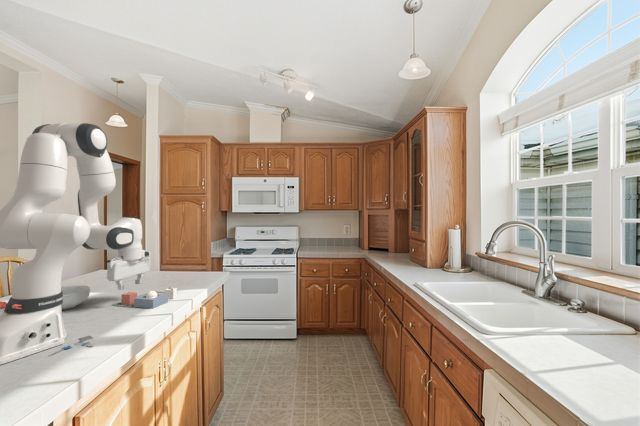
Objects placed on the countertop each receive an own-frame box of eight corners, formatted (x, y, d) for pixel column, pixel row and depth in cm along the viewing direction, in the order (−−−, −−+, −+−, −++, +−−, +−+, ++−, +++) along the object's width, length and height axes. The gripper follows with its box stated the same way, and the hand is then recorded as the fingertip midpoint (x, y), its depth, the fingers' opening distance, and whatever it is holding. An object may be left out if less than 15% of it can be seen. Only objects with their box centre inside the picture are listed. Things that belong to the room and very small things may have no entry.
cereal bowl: (44, 304, 129) (44, 287, 129) (93, 299, 136) (93, 283, 136) (29, 316, 114) (29, 297, 114) (84, 311, 121) (85, 293, 121)
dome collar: (153, 308, 126) (153, 300, 126) (133, 306, 127) (134, 298, 127) (167, 302, 135) (167, 294, 135) (149, 300, 136) (149, 292, 136)
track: (130, 307, 127) (130, 306, 127) (112, 305, 128) (112, 304, 128) (168, 293, 149) (168, 292, 149) (152, 291, 151) (152, 291, 151)
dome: (152, 304, 128) (152, 292, 128) (143, 304, 129) (143, 291, 129) (159, 301, 133) (159, 289, 133) (150, 301, 134) (150, 289, 134)
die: (173, 298, 140) (173, 288, 140) (164, 298, 139) (164, 288, 139) (176, 296, 144) (176, 286, 144) (167, 296, 143) (168, 286, 143)
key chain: (83, 337, 98) (83, 334, 98) (110, 336, 98) (110, 334, 98) (47, 357, 84) (47, 354, 84) (79, 357, 84) (79, 354, 84)
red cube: (129, 305, 129) (129, 295, 129) (121, 305, 130) (121, 294, 130) (136, 303, 133) (137, 292, 133) (129, 302, 134) (129, 292, 134)
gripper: (116, 259, 121) (116, 293, 121) (153, 251, 141) (153, 281, 141) (102, 258, 122) (102, 292, 122) (141, 250, 142) (140, 280, 142)
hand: (129, 286), depth 132 cm, fingers open, 8 cm apart
